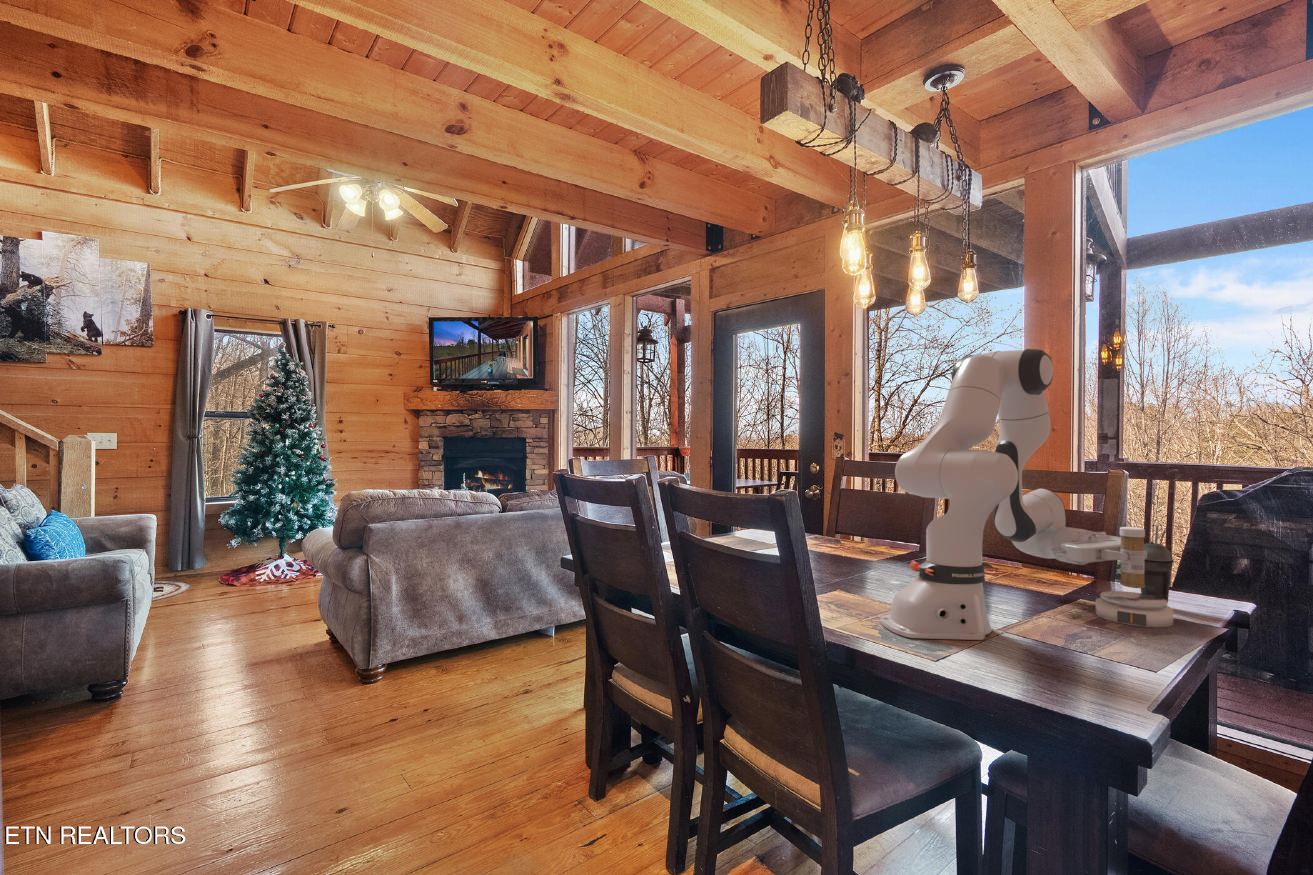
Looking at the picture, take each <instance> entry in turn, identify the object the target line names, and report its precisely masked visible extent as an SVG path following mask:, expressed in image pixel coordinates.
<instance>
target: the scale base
mask: <svg viewBox="0 0 1313 875" xmlns="http://www.w3.org/2000/svg"><path fill="white" fill-rule="evenodd" d="M1095 615H1096V616H1097V617H1098V618H1101V619H1104V620H1107V621H1110V622H1113V623H1116V624H1117V623H1118V624H1123V625H1128V626H1134V627H1143V628H1169V627H1172V626H1174V609H1173V607H1171V606H1169V605H1167V607H1166V608H1163V609H1142V608H1132V607H1126V606H1120V605H1115V604H1112V603H1108V602H1105V601H1103V600H1102V599H1101V597H1098V598H1096V599H1095Z"/></svg>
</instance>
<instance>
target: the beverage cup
mask: <svg viewBox="0 0 1313 875" xmlns="http://www.w3.org/2000/svg"><path fill="white" fill-rule="evenodd" d="M1158 538H1159V525H1157V524H1156V525H1155V533H1154V542H1148V543H1144V551H1146V552H1147V558H1146V559H1144V584H1145V587H1144V588H1140V593H1142V594H1148V595H1152V596H1156V597H1160V598H1163V599H1165V600H1166V601H1167V604H1168V603H1169V596H1170V595H1169V594H1170V593H1169V592H1170V585H1171V584H1170V583H1171V575H1172V572H1171V571H1172V569H1173V564H1174V562H1175V561H1174V557H1173V555H1172V553H1171V551H1170V550H1169V549H1168V548H1167V547H1166V546H1165V545H1163V544H1161V543H1159V542H1158Z"/></svg>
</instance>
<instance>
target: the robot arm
mask: <svg viewBox="0 0 1313 875" xmlns="http://www.w3.org/2000/svg"><path fill="white" fill-rule="evenodd" d="M1053 378H1054V364H1053V360H1052V358H1051V356H1050V355H1049V354H1048V353H1047V352H1045V351H1044V350H1042V349H1038V348H1026V349H1023V350H1021V349H1017V350H1004V351H1000V350H998V351H992V352H984V353H981V354H975V355H974V354H972V355H968V356H965V357H963V358H961V359H959V360H958V361H957V362H956V363H955V364H954V366H953V367H952V371H951V384H950V386H949V388H948V391H947V392H948V393H947V395H946V398H945V402H944V405H943V407H942V411H941V414H940V417H939V419H938V421H937V422H936V425H935V426H934V428H933V429H932V430H931V432H930V433H929V434H928V435H927V436H926V438H924V439H923V441H921V442H920V443H918V445H916V446H915V447H913V448H912V449H911V450H909V451H907V452H905V453H903V454H902V455H901V456H900V457H899V458H898V460H897V462H896V464H895V469H894V476H895V480H896V483H897V485H898V487H899V488H900V489H901V490H902V491H903V492H905V493H907V494H911V495H915V496H918V497H921V498H931V499H944V500H949V506H948V509H947V511H946V513H945V514H942V515H940V516H937V517H935V518H934V519H933V520H931V521H930V522H929V523H928V525H927V527H926V530H925V532H926V534H925V538H926V540H925V541H926V542H925V543H926V544H925V545H926V546H925V547H926V548H925V549H926V552H925V553H926V559H925V560H924V562H922V564H921V563H919V562H917V561H913V560H912V561H911V562H910V563H909V569H910V570H911V571H914V572H918V577H917V578H916V579H915V580H912V581H911V583H909V584H908V585H906V587H904V588H903V589H901V590H900V591H898V592H897V593H895V595H894V596H893V598H892V601H891V605H890V606H891V607H890V614H882V615H881V616H880V624H881V625H882V626H883V627H885V628H886V629H887V630H889V631H890V632H893V633H895V634H897V635H899V636H902V637H906V638H910V639H928V640H929V639H930V640H931V639H933V640H935V639H936V640H965V641H966V640H969V641H970V640H972V641H983V640H985V639H986V635H989V634H991V632H992V626H991V624H990V621H989V617H988V613H987V608H986V600H985V595H984V594H985V593H984V587H985V580H986V578H985V576H986V575H985V574H986V573H985V572H986V571H985V565H984V563H983V542H984V541H983V540H984V538H983V537H984V530H985V527H986V526H985V525H986V523H987V521H988V519H989V516H990V514H992V513H993V514H992V522H993V526H994V528H995V530H996V531H997V533H999V535H1001V537H1004V538H1005V539H1007V540H1009V541H1011V543H1012V545H1013V546H1014V547H1015V548H1016V549H1017V550H1019V551H1021V552H1022V553H1025V554H1027V555H1030V556H1034V557H1038V558H1043V559H1056V560H1057V561H1059V562H1064V563H1068V564H1074V565H1078V566H1085V565H1087V564H1090V563H1098V562H1106V561H1120V562H1121V561H1128V560H1130V554H1129V553H1127V552H1121V537H1120V536H1115V535H1109V534H1107V532H1105V531H1099V530H1098V531H1097V530H1095V531H1094V530H1088V529H1083V528H1076V527H1071V526H1070V527H1069V526H1067V515H1066V507H1065V504H1064V502H1063V500H1062V498H1061V497H1060V496H1059V495H1058V494H1057V493H1056V492H1054V491H1051V490H1050V489H1047V488H1036V489H1034V490H1032V491H1030V492H1027V493H1026V494H1024V495H1023V471H1024V468H1025V465H1026V463H1027V461H1028V460H1029V459H1030V458H1031V457H1032V455H1033V454H1034V453H1035V452H1036V451H1037V450H1038V449H1040V447H1041V446H1043V444H1044V443H1045V442H1046V441H1047V439H1048V438H1049V436H1050V432H1051V417H1050V411H1049V404H1048V399H1047V396H1046V393H1045V391H1046V390H1047V389H1048V388H1049V386H1050V385H1051V384H1052V383H1053V382H1052V381H1053ZM997 418H998V424H999V429H998V430H999V431H998V432H999V433H998V441H997V445H996V447H995V450H994V451H991V450H986V449H972V448H974V446H976V445H979V444H981V443H983V442H985V441H986V440H988V439H989V438H990V436H991V435H992V434H993V432H994V429H995V425H996V422H997ZM1146 558H1147V552H1146V551H1144V559H1146Z"/></svg>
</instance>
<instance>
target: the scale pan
mask: <svg viewBox="0 0 1313 875" xmlns="http://www.w3.org/2000/svg"><path fill="white" fill-rule="evenodd" d="M1100 598H1101V599H1102V600H1103V601H1105V602H1108V603H1112V604H1115V605H1120V606H1126V607H1132V608H1142V609H1163V608H1166V607H1167V606H1168V603H1167V601H1166V600H1165V599H1163V598H1160V597H1156V596H1152V595H1148V594H1142V593H1141V592H1132V591H1124V590H1109V591H1102V592H1101V593H1100Z"/></svg>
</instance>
